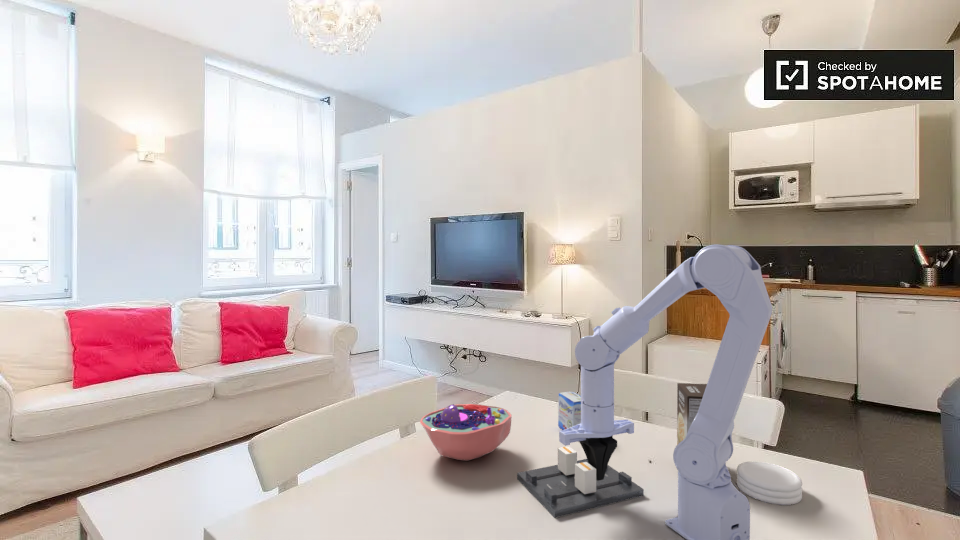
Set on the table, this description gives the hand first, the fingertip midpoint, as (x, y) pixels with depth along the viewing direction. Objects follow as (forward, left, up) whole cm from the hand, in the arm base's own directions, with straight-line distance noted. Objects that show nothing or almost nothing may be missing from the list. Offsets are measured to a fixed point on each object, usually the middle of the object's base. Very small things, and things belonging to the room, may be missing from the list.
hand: (597, 477), depth 81 cm
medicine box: (+26, -12, -3) cm, 29 cm away
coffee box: (0, -24, -3) cm, 24 cm away
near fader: (0, +3, -1) cm, 3 cm away
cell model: (+24, +16, -3) cm, 29 cm away
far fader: (+7, +2, -2) cm, 7 cm away
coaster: (-11, -29, -3) cm, 31 cm away
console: (+3, +2, -3) cm, 5 cm away
